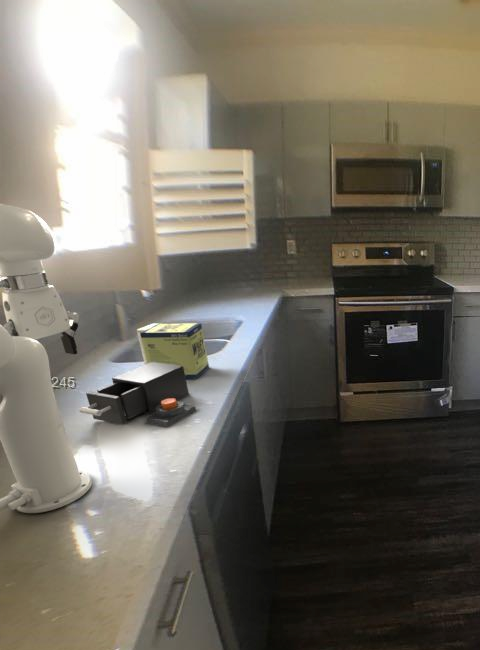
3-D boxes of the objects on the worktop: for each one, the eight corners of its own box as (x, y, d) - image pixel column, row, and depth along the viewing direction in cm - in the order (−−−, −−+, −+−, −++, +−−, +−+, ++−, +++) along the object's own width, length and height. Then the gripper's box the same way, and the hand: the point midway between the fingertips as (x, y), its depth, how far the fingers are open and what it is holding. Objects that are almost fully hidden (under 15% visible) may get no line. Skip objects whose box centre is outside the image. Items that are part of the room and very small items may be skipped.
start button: (169, 410, 117) (168, 404, 116) (159, 408, 118) (157, 402, 117) (180, 405, 120) (179, 399, 119) (169, 403, 121) (168, 397, 120)
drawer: (108, 432, 111) (100, 405, 108) (78, 426, 114) (69, 399, 112) (162, 404, 125) (156, 380, 122) (133, 399, 129) (127, 375, 126)
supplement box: (156, 366, 156) (148, 329, 151) (144, 366, 157) (135, 329, 152) (171, 358, 164) (164, 323, 159) (159, 358, 165) (152, 322, 160)
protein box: (198, 378, 145) (188, 331, 139) (149, 379, 145) (138, 332, 139) (210, 367, 155) (202, 322, 149) (164, 368, 155) (155, 323, 149)
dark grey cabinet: (151, 414, 122) (144, 383, 118) (119, 408, 126) (111, 378, 122) (189, 395, 133) (183, 365, 130) (159, 390, 137) (152, 361, 134)
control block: (167, 427, 115) (164, 415, 113) (146, 423, 117) (143, 411, 116) (196, 410, 123) (193, 400, 122) (176, 407, 126) (173, 396, 124)
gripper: (-10, 291, 86) (20, 376, 92) (77, 276, 100) (98, 350, 107) (-34, 289, 88) (-3, 371, 95) (54, 274, 103) (76, 347, 110)
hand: (50, 360), depth 101 cm, fingers open, 9 cm apart
